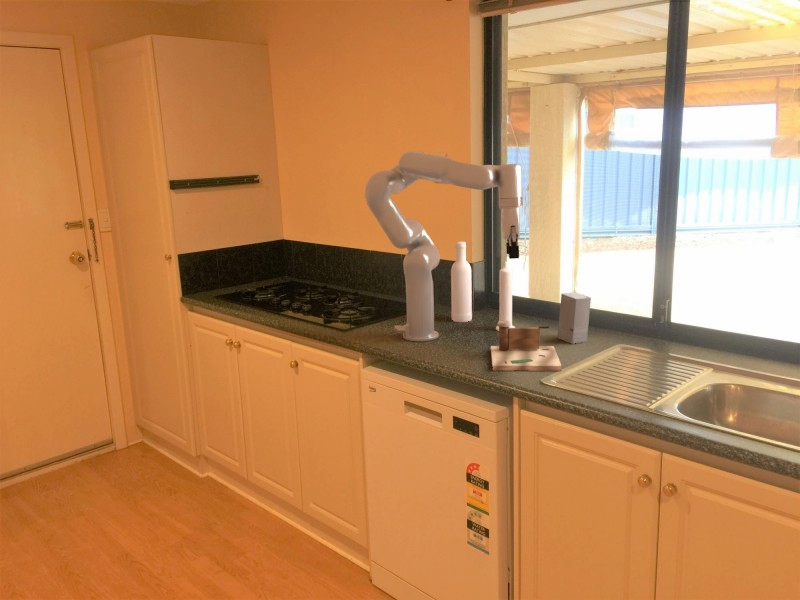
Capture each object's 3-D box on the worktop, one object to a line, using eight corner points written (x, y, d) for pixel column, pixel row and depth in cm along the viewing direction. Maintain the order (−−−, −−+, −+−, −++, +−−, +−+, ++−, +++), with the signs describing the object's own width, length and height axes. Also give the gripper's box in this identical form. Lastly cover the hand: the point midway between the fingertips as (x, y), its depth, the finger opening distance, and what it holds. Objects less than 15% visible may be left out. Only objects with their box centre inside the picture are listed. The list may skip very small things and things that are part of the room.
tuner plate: (492, 370, 200) (492, 364, 199) (490, 350, 219) (490, 345, 219) (561, 370, 198) (561, 365, 197) (553, 350, 217) (553, 345, 217)
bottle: (476, 320, 258) (476, 242, 251) (460, 323, 254) (459, 244, 247) (463, 316, 264) (462, 240, 258) (447, 319, 260) (446, 242, 254)
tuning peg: (497, 350, 213) (497, 324, 211) (497, 347, 217) (497, 320, 215) (549, 351, 211) (549, 323, 209) (547, 347, 215) (548, 320, 213)
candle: (515, 332, 240) (515, 262, 234) (495, 331, 241) (495, 262, 236) (515, 327, 246) (516, 259, 241) (496, 326, 248) (496, 259, 242)
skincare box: (557, 338, 230) (558, 293, 227) (574, 335, 233) (575, 291, 230) (572, 344, 223) (573, 298, 219) (590, 341, 225) (591, 295, 222)
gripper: (497, 202, 225) (499, 253, 229) (500, 206, 208) (503, 260, 212) (520, 200, 224) (521, 251, 228) (525, 204, 208) (527, 259, 211)
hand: (512, 256), depth 220 cm, fingers open, 9 cm apart
